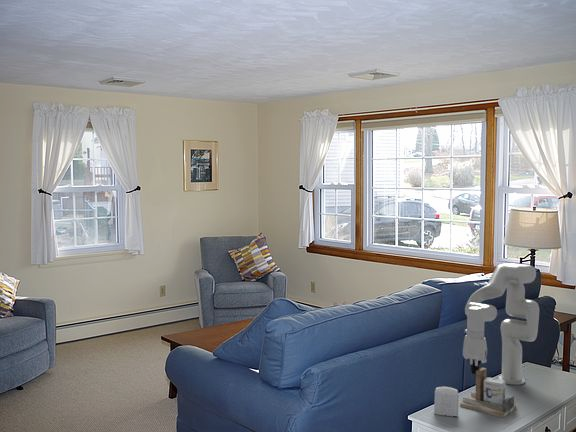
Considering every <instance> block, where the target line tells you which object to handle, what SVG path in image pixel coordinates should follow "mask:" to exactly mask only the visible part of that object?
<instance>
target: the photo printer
mask: <svg viewBox="0 0 576 432" xmlns="http://www.w3.org/2000/svg"><path fill="white" fill-rule="evenodd" d="M459 398H460V396H459V391H458V389H456V388H454V387H450V386H438V387H435V390H434V401H433V402H434V404H433V406H434V408H433V409H434V412H433V413H434V414H435V415H438V416H445V415H446V416H447V417H453V416H457V417H459ZM446 416H445V417H446Z"/></svg>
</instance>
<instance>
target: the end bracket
mask: <svg viewBox="0 0 576 432" xmlns="http://www.w3.org/2000/svg"><path fill="white" fill-rule="evenodd" d="M486 378H487V368H486V367H479V370H477V371H476V374H475V392H476V400H480V401H484V380H485V379H486Z"/></svg>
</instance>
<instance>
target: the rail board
mask: <svg viewBox="0 0 576 432" xmlns="http://www.w3.org/2000/svg"><path fill="white" fill-rule="evenodd" d="M459 406H460V407H463V408H467V409H469V410H470V409H471V410H473V411H477V412H480V413H481V412H482V413H484V414H488V415H491V416H494V417H495V416H496V417H499V418H502V419H503V418H505V417H506V416H508V415H509V414H510V413H512V412H513V411H514V410H516V409H517V405H516V404H515V395H512V394H511V395H509V396H508V397H505V400H504V401H503V407H502V406H499V405H495V404H491V403H487V402H484V401H480V400H476V391H471V392H470V396H469V397H467V396H465V395H464V396H462V401H461V402H459Z"/></svg>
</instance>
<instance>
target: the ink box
mask: <svg viewBox="0 0 576 432" xmlns="http://www.w3.org/2000/svg"><path fill="white" fill-rule="evenodd" d="M505 399H506V384H505V381H504V380H501V379H498V378H495V377H488V376H486V379H485V380H484V402H487V403H491V404H495V405H499V406H502V407H503V401H504V400H505Z"/></svg>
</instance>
